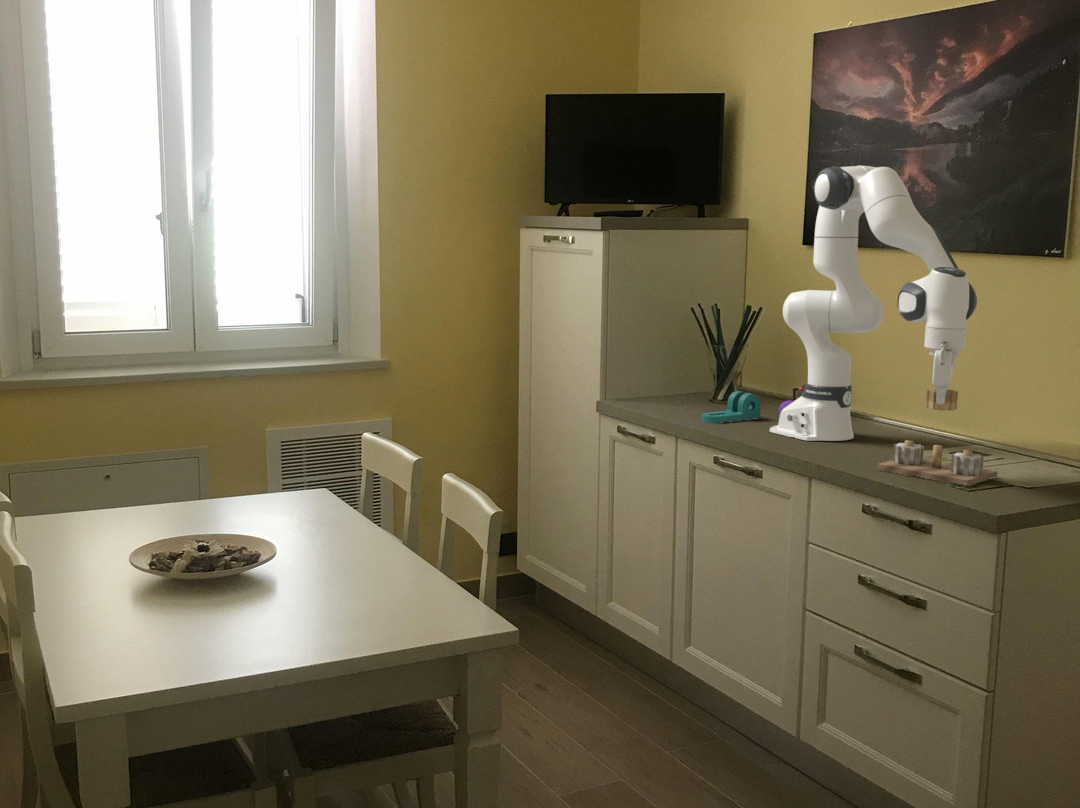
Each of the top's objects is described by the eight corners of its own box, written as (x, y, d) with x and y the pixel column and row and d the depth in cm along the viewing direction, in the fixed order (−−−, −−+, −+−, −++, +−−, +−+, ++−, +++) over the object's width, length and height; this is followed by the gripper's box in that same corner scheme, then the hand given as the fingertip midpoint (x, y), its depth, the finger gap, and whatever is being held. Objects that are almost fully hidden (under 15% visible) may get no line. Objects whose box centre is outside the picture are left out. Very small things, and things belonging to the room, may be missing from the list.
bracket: (744, 416, 331) (745, 390, 329) (760, 419, 325) (761, 393, 324) (696, 421, 322) (697, 394, 320) (711, 425, 316) (712, 397, 315)
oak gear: (924, 405, 257) (925, 388, 256) (954, 406, 255) (956, 389, 255) (926, 409, 251) (928, 392, 250) (958, 411, 249) (959, 393, 248)
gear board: (876, 470, 259) (878, 442, 258) (908, 461, 268) (910, 435, 267) (967, 487, 243) (969, 457, 242) (997, 477, 252) (999, 449, 251)
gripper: (958, 345, 240) (954, 408, 242) (961, 336, 259) (957, 395, 261) (927, 343, 242) (923, 406, 244) (932, 335, 261) (928, 394, 263)
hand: (941, 401), depth 253 cm, fingers closed on oak gear, 7 cm apart
